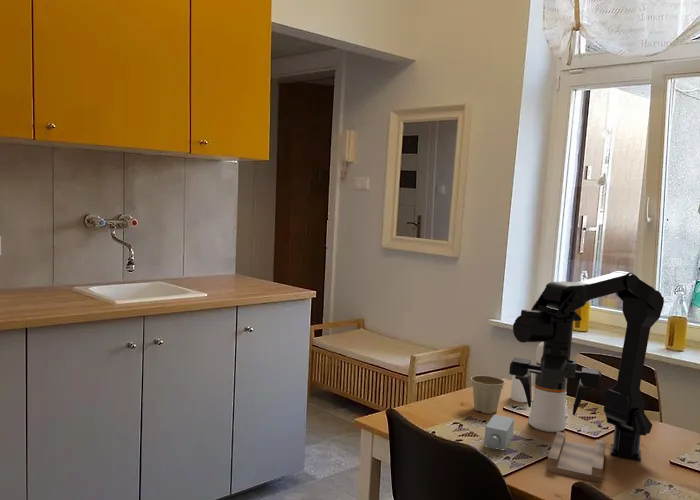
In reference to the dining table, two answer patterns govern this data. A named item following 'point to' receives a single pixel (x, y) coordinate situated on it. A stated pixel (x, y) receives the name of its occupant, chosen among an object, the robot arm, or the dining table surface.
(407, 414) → the dining table surface
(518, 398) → the white pointed cylinder
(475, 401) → the flower pot
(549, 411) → the vodka
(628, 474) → the dining table surface
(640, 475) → the dining table surface
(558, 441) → the u rest
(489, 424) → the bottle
